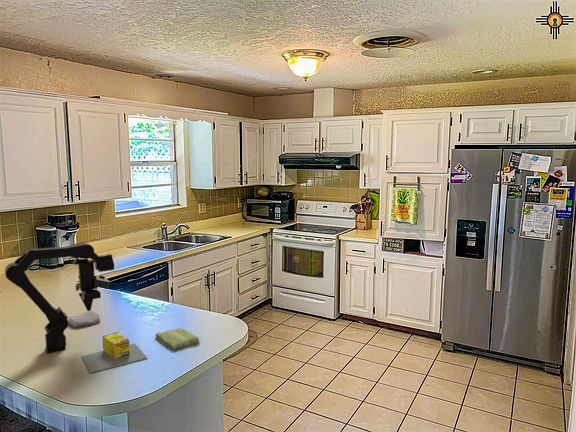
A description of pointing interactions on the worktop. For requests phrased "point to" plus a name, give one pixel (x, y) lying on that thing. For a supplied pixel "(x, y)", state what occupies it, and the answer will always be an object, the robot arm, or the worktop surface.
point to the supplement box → (116, 345)
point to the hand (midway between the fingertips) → (88, 310)
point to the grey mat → (112, 359)
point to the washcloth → (176, 338)
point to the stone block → (84, 319)
